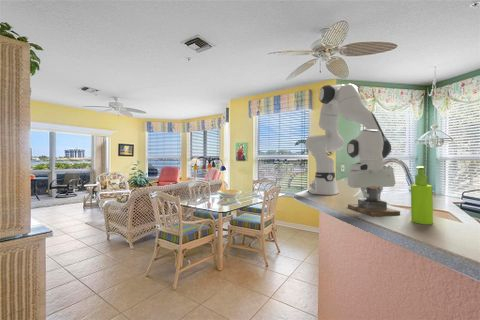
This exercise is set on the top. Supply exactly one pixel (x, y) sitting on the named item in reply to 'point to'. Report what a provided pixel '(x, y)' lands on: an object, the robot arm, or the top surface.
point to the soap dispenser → (421, 199)
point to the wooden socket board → (373, 208)
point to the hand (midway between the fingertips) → (371, 197)
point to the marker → (372, 194)
